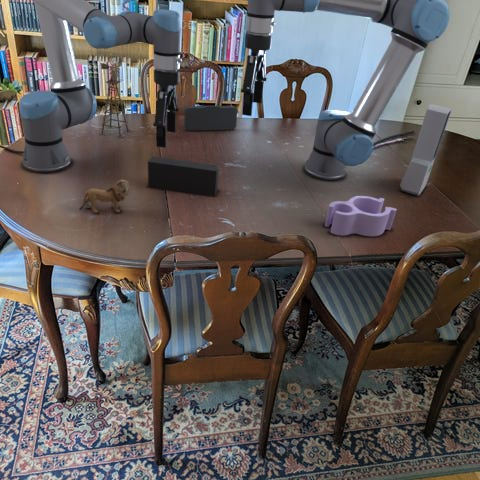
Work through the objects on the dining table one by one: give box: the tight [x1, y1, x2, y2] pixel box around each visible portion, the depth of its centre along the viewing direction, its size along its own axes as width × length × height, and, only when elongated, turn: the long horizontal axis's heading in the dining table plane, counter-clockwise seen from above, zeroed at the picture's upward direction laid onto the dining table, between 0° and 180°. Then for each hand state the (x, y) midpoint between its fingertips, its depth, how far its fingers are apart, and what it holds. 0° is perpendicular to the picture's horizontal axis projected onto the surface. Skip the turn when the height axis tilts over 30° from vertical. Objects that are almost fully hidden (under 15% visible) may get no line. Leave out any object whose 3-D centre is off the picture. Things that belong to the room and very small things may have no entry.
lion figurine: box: [78, 179, 131, 214], centre depth 135 cm, size 15×5×9 cm, turn 110°
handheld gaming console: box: [183, 105, 239, 132], centre depth 200 cm, size 23×3×10 cm, turn 108°
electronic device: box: [399, 103, 452, 197], centre depth 162 cm, size 12×8×30 cm, turn 148°
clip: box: [324, 195, 398, 237], centre depth 141 cm, size 20×12×7 cm, turn 109°
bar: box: [147, 156, 220, 197], centre depth 151 cm, size 22×4×9 cm, turn 83°
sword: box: [373, 136, 412, 149], centre depth 209 cm, size 31×3×1 cm, turn 126°
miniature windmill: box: [100, 54, 130, 138], centre depth 181 cm, size 9×8×30 cm
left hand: (166, 139), depth 147 cm, fingers open, 13 cm apart
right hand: (252, 108), depth 142 cm, fingers open, 13 cm apart
